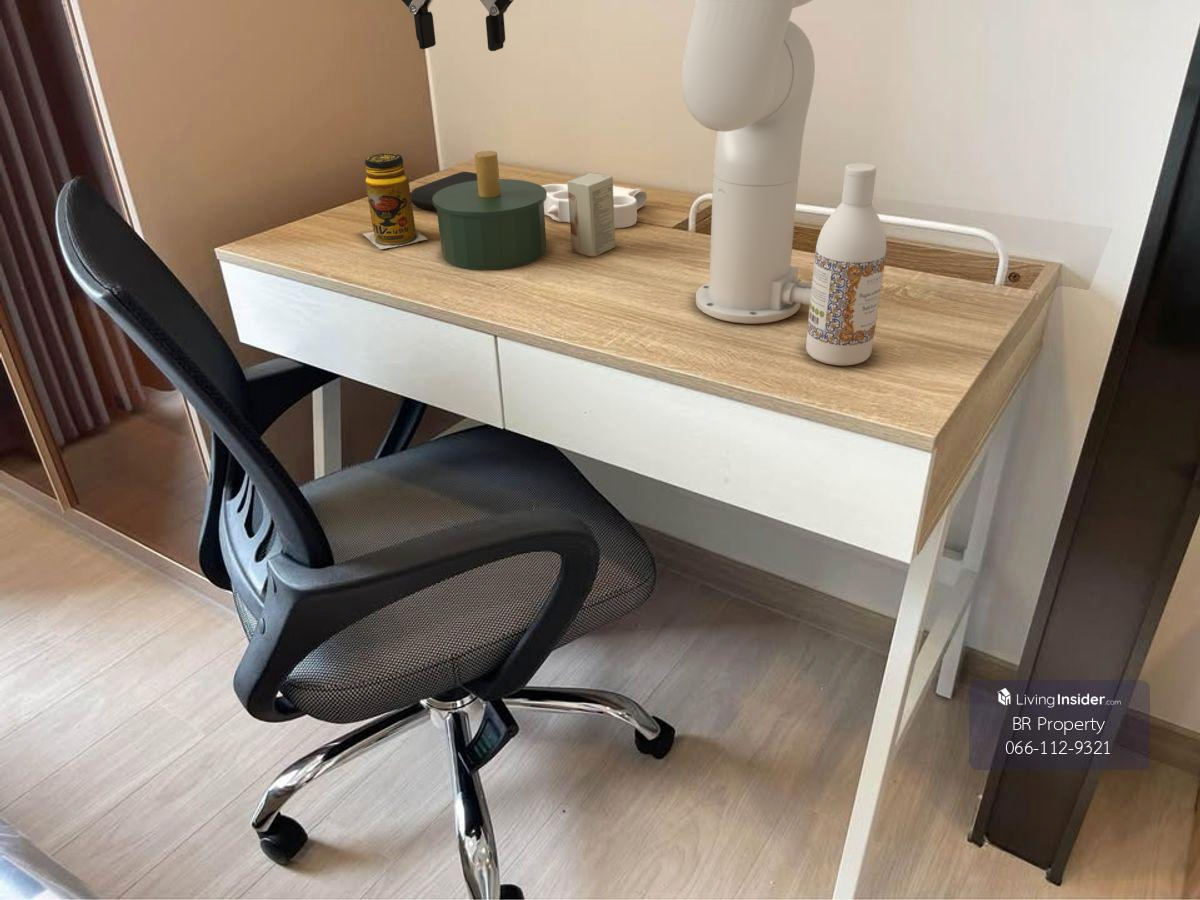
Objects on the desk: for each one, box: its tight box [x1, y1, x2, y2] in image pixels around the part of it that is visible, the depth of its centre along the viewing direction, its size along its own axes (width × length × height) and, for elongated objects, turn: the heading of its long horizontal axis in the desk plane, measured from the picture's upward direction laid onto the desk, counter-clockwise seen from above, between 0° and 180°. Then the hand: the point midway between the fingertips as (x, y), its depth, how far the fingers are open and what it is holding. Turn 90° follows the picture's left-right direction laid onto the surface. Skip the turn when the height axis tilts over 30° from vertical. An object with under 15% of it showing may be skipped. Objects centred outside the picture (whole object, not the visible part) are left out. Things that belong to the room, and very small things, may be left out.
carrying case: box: [410, 171, 477, 212], centre depth 150 cm, size 11×3×15 cm
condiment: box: [362, 152, 428, 250], centre depth 132 cm, size 7×8×12 cm
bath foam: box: [805, 162, 887, 367], centre depth 93 cm, size 7×7×20 cm
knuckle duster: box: [541, 183, 648, 229], centre depth 142 cm, size 3×18×15 cm
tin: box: [436, 202, 547, 271], centre depth 127 cm, size 15×15×8 cm
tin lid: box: [432, 150, 547, 217], centre depth 124 cm, size 16×16×7 cm
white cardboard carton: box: [566, 172, 616, 258], centre depth 126 cm, size 5×4×10 cm
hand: (461, 48), depth 116 cm, fingers open, 9 cm apart
